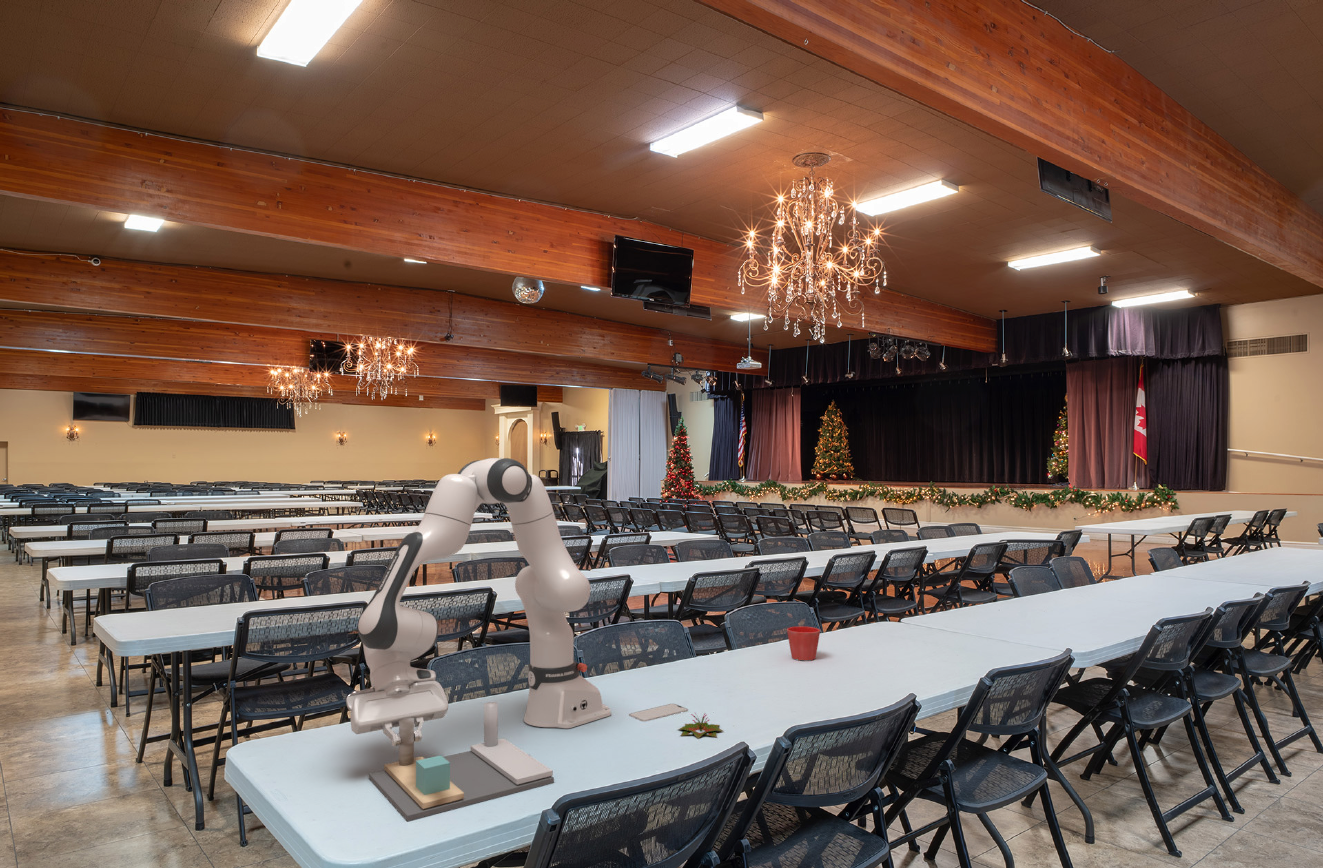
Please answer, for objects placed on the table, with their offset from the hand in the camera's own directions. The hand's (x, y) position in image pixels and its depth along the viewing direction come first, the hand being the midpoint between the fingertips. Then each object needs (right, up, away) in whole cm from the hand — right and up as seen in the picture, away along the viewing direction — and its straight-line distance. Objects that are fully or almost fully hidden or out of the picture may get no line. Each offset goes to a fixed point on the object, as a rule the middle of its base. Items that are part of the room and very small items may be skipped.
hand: (407, 742), depth 168 cm
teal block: (+9, -4, -13) cm, 16 cm away
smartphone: (+53, -9, +41) cm, 67 cm away
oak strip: (+5, -5, -8) cm, 11 cm away
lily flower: (+63, -8, +27) cm, 69 cm away
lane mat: (+12, -7, -3) cm, 14 cm away
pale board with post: (+21, -6, +3) cm, 22 cm away
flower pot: (+101, -10, +99) cm, 142 cm away
